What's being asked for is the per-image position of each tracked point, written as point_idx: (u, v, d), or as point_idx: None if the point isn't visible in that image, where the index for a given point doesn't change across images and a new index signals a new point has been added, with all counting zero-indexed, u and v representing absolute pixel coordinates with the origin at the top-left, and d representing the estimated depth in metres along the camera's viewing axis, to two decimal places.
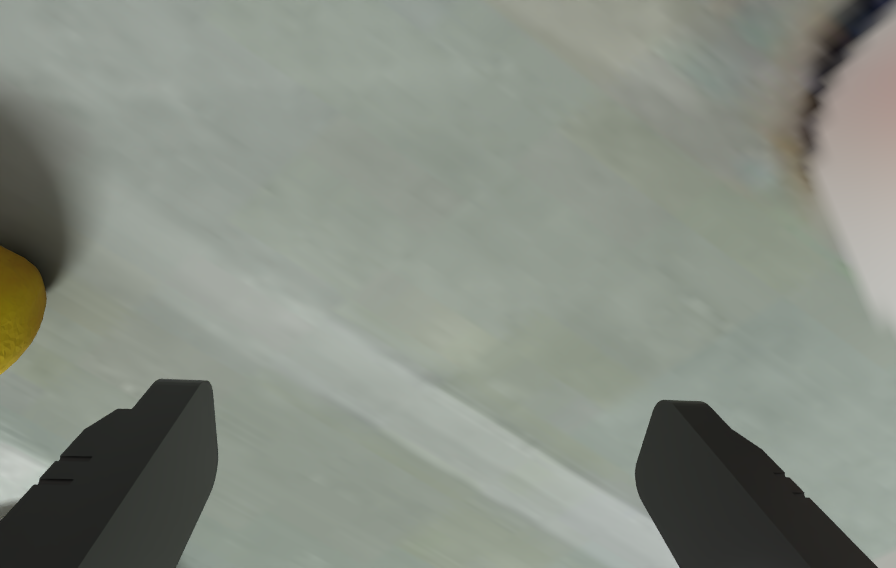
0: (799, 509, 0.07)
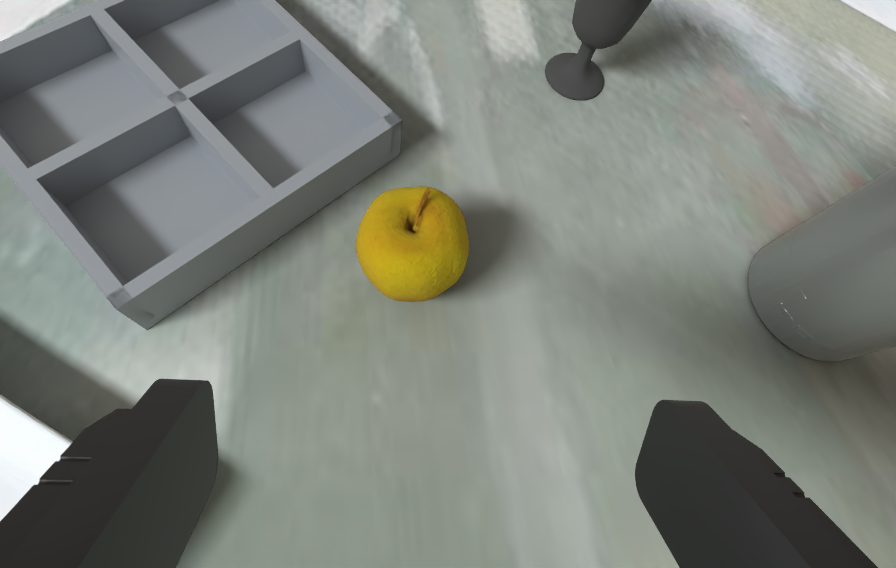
0: (799, 509, 0.07)
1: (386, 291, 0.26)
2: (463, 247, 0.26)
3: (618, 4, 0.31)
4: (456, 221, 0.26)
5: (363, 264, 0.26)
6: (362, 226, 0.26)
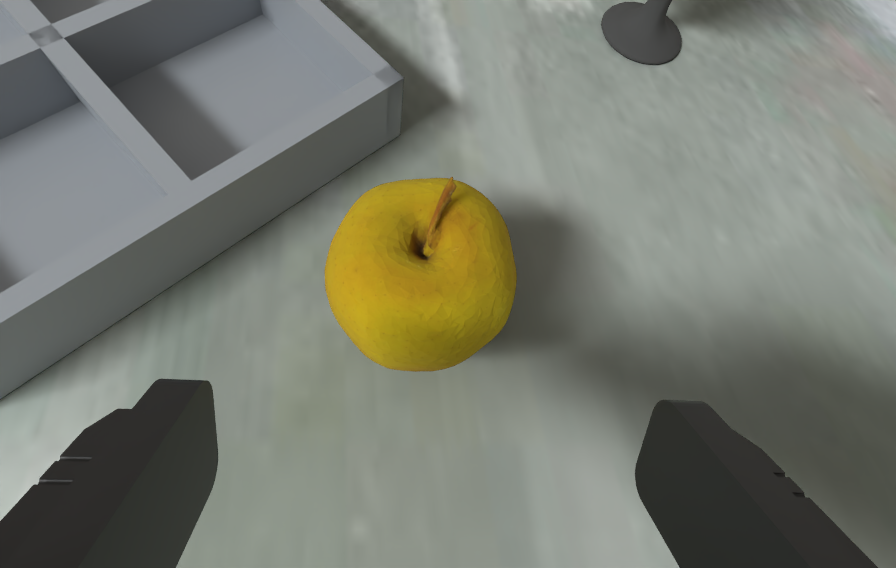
0: (799, 509, 0.07)
1: (376, 359, 0.15)
2: (511, 284, 0.15)
3: None
4: (499, 239, 0.15)
5: (335, 313, 0.15)
6: (334, 247, 0.15)
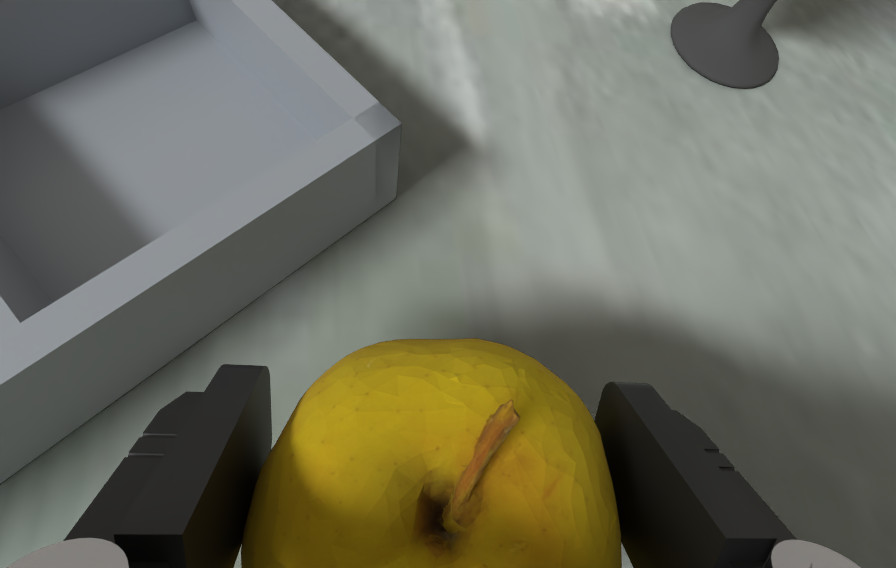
0: (720, 479, 0.07)
1: None
2: None
3: None
4: (602, 496, 0.07)
5: None
6: (256, 512, 0.07)
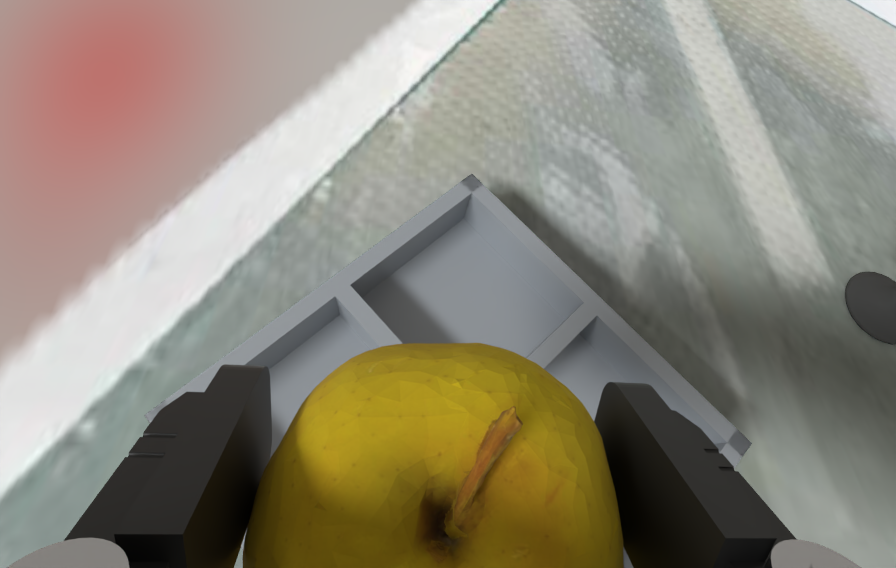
0: (720, 479, 0.07)
1: None
2: None
3: None
4: (604, 501, 0.07)
5: None
6: (257, 518, 0.07)
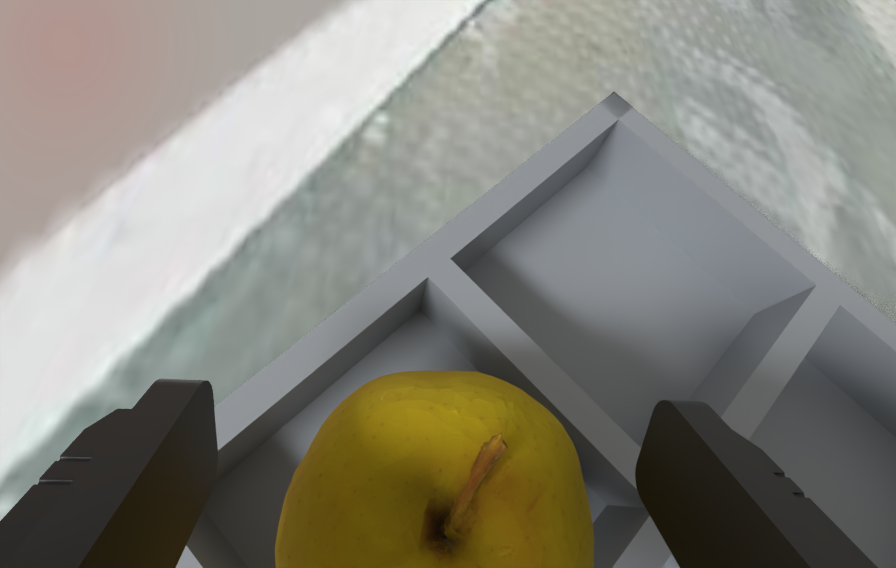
0: (799, 509, 0.07)
1: None
2: None
3: None
4: (576, 509, 0.08)
5: None
6: (288, 522, 0.08)
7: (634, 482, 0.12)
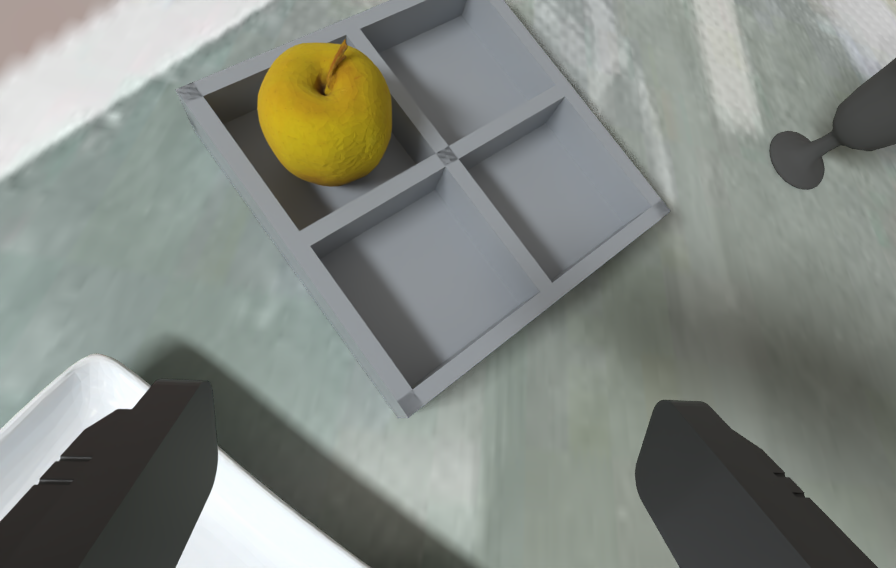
0: (799, 509, 0.07)
1: (286, 162, 0.23)
2: (381, 124, 0.23)
3: None
4: (376, 91, 0.22)
5: (261, 125, 0.22)
6: (264, 78, 0.22)
7: (428, 141, 0.26)
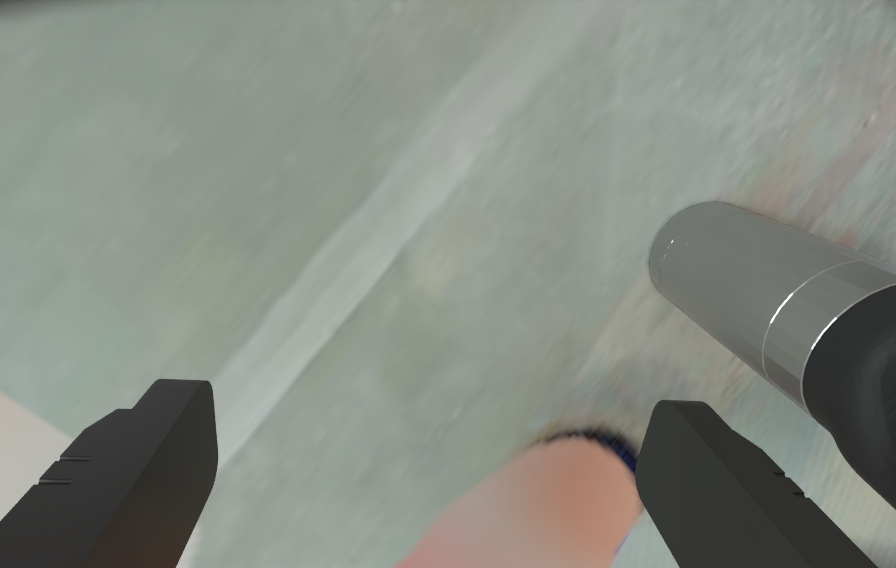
0: (799, 509, 0.07)
1: None
2: None
3: None
4: None
5: None
6: None
7: None
